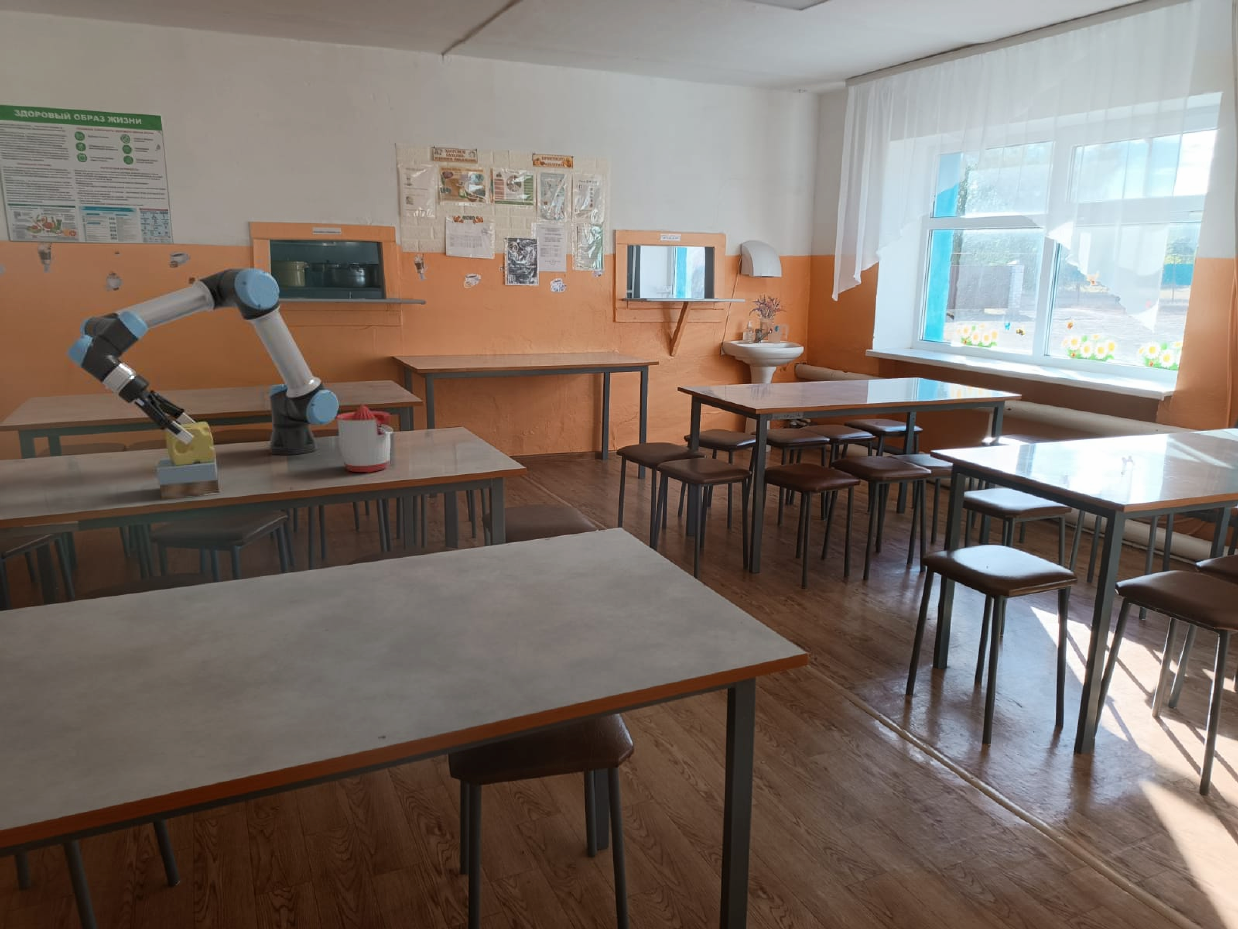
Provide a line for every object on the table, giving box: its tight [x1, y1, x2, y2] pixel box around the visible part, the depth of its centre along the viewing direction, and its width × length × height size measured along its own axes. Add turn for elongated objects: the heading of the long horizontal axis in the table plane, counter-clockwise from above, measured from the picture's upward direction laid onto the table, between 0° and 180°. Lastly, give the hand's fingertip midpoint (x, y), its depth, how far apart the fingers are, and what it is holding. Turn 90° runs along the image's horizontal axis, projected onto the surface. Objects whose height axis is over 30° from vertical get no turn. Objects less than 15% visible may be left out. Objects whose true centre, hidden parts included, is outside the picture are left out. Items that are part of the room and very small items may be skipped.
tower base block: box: [159, 476, 220, 501], centre depth 236 cm, size 14×14×4 cm
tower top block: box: [156, 457, 218, 486], centre depth 235 cm, size 14×14×4 cm
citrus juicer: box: [336, 404, 394, 474], centre depth 260 cm, size 16×17×20 cm
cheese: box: [165, 421, 217, 466], centre depth 234 cm, size 10×11×10 cm
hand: (195, 436), depth 234 cm, fingers open, 13 cm apart
